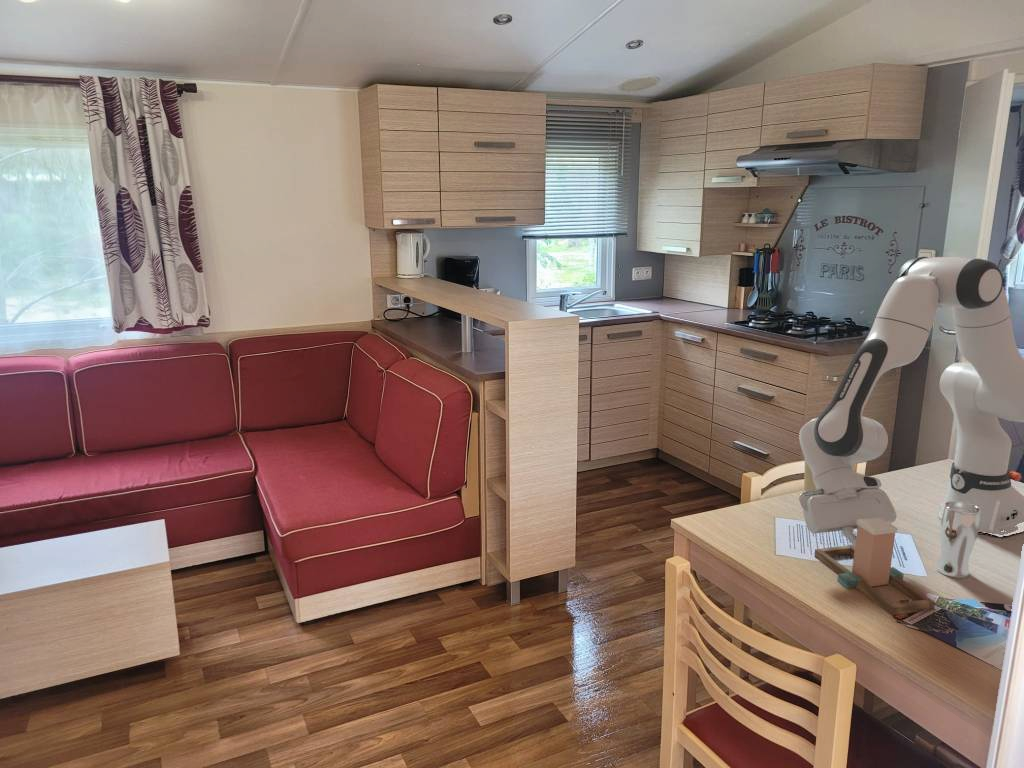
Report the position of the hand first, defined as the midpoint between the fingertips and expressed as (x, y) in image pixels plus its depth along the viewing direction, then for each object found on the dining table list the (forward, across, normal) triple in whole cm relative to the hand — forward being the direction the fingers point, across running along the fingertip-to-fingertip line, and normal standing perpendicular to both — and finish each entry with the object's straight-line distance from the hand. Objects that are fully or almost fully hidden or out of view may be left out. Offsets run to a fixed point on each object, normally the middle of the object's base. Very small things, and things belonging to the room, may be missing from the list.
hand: (862, 548), depth 159 cm
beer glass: (+7, +20, +2) cm, 21 cm away
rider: (+6, 0, +2) cm, 7 cm away
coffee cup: (-24, +18, +33) cm, 44 cm away
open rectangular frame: (+6, 0, +2) cm, 7 cm away
